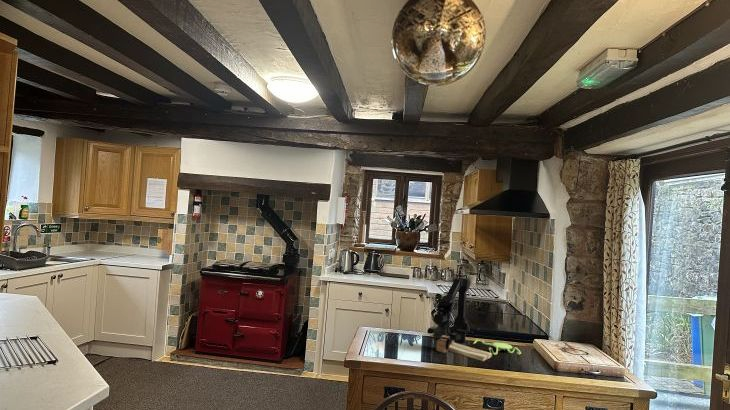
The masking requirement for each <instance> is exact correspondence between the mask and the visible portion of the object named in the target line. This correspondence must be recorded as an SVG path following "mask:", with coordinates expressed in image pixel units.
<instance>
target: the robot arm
mask: <svg viewBox="0 0 730 410" xmlns="http://www.w3.org/2000/svg"><path fill="white" fill-rule="evenodd" d="M470 287H471V280H470V279H469V278H464V277H459V276H458V278H453V281H452V284H451V286H450V288H449V290H448V291H447V293H446V294H445V295H443V296H442V297H441V299H440V300H439V302H438V305H437V308H436V311H437V312H436V313H435V314H434V316H433V322H434V323H435V324H437V326H436V327H435V326H432V327H428V328H427V331H426V333H427V334H430V335H431V336H432V337H434V338H435V343H436V344H437V340H439V339H442V338H443V336H445V337H447V338H446V339H445V340H447V344H446V350H448V348H449V346H450V344H451V342H452V341H453V340H454V342H456V343H457V342H458V343H459V344H460V343H461V344H464V343H467V342H468V340H467V339H466V337H467V334H469V333H470V330H471V329H470V326H469V321H468V318H467V316H466V311H467V310H466V309H467V293H468V291H469V289H470ZM457 295H458V296H457ZM456 297H457V299H458V300H457V314H456V317H455V318H454V319H453V331H456V332H453V333H451V330H450V328H451V327H450V326H451V325H452V323H451V317H452V316H451V315H452V312H453V309H454V307H455V298H456Z"/></svg>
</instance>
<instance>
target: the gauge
mask: <svg viewBox="0 0 730 410" xmlns="http://www.w3.org/2000/svg"><path fill="white" fill-rule="evenodd" d="M452 343H455V341H454V340H453V341H452V342H451V344H452ZM446 344H447V340H446V339H444V338H441V339H439V340H437V343H436V350H435V351H437V352H439V353H443V354H445V353H447V352H449V351H448V350H446ZM448 349H449V348H448Z"/></svg>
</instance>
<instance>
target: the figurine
mask: <svg viewBox="0 0 730 410" xmlns="http://www.w3.org/2000/svg"><path fill="white" fill-rule="evenodd" d="M477 342H481V343H482V344H483V345H486V346H490V347H488V351H489V353H492V355H494V356H496V355H498V353H499V352H500V351H502V350H503V351H504V352H505V351H507V352H508V353H509V354H513V353H514V352H515V350H516V354H517V355H520V354H522V352H521V350H520V349H519V348H518V347H516V346H515V347H513V346H512V345H510V344H508V343H505V342H502V341H500V342H493V343H492V342H490V343H489V342H485V340H484V339H481V338H480V339H477V338H476V339H475V340H474V342H472V345H475V344H476V343H477ZM491 346H492V347H494V348H495V349H496V350H495V352H494V350H493V348H492V347H491ZM511 350H512V351H511Z"/></svg>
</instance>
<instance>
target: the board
mask: <svg viewBox="0 0 730 410" xmlns="http://www.w3.org/2000/svg"><path fill="white" fill-rule="evenodd" d="M447 352H450V353H453V354H458V355H460V356H465V357H468V358H470V359H473V360H474V359H475V360H477V361H480V362H485V361H486V360H488V359H491V358H492V357H493V352H491V353H490V351H489V352H488V351H485V350H482V349H478V348H475V347H471V346H467V345H465V344H464V345H463V344H462V343H461V344H460V343H457V342H454V343H452V344H450V346H449V349H448V351H447Z"/></svg>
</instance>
